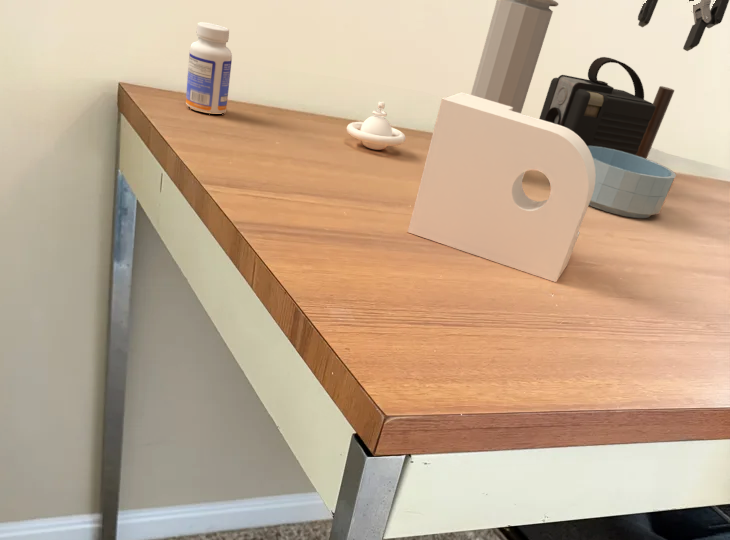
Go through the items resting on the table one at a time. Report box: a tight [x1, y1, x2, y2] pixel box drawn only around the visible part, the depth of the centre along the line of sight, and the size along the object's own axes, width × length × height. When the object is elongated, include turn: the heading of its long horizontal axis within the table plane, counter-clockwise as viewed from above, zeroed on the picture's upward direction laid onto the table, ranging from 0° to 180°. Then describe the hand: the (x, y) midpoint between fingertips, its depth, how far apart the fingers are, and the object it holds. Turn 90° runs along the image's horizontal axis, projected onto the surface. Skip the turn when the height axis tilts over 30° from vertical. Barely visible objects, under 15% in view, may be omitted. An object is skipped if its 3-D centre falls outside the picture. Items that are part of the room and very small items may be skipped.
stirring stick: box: [636, 85, 675, 159], centre depth 134 cm, size 4×4×12 cm
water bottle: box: [470, 0, 559, 114], centre depth 108 cm, size 9×8×25 cm
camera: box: [538, 56, 656, 155], centre depth 122 cm, size 11×14×15 cm
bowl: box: [587, 145, 677, 219], centre depth 112 cm, size 13×13×6 cm
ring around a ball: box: [346, 101, 406, 151], centre depth 110 cm, size 8×6×8 cm
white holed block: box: [407, 91, 596, 283], centre depth 84 cm, size 16×10×13 cm, turn 66°
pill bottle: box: [185, 21, 233, 114], centre depth 106 cm, size 5×5×10 cm
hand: (665, 37), depth 128 cm, fingers open, 8 cm apart
